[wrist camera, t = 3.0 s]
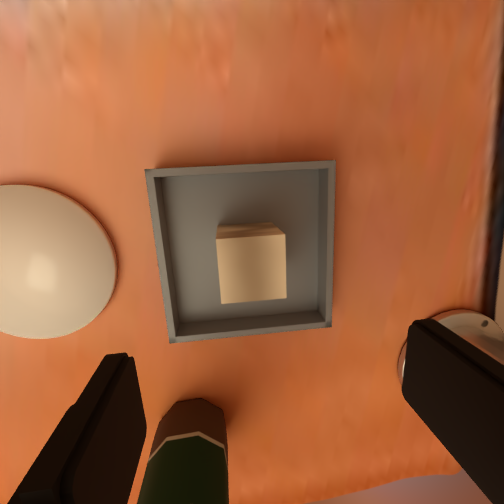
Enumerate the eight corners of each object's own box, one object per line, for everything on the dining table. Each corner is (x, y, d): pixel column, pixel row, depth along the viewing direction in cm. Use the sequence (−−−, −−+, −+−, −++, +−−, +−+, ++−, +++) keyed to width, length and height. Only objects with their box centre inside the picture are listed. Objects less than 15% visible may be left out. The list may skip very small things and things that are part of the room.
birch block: (271, 221, 26) (285, 234, 20) (272, 272, 27) (286, 297, 21) (217, 225, 26) (215, 239, 20) (221, 277, 27) (221, 304, 21)
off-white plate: (102, 180, 24) (97, 180, 23) (129, 325, 28) (125, 330, 27) (-76, 189, 23) (-89, 189, 22) (-23, 340, 26) (-33, 346, 26)
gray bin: (323, 162, 26) (335, 160, 23) (320, 312, 30) (331, 327, 27) (153, 170, 24) (144, 169, 21) (174, 326, 28) (169, 343, 25)
